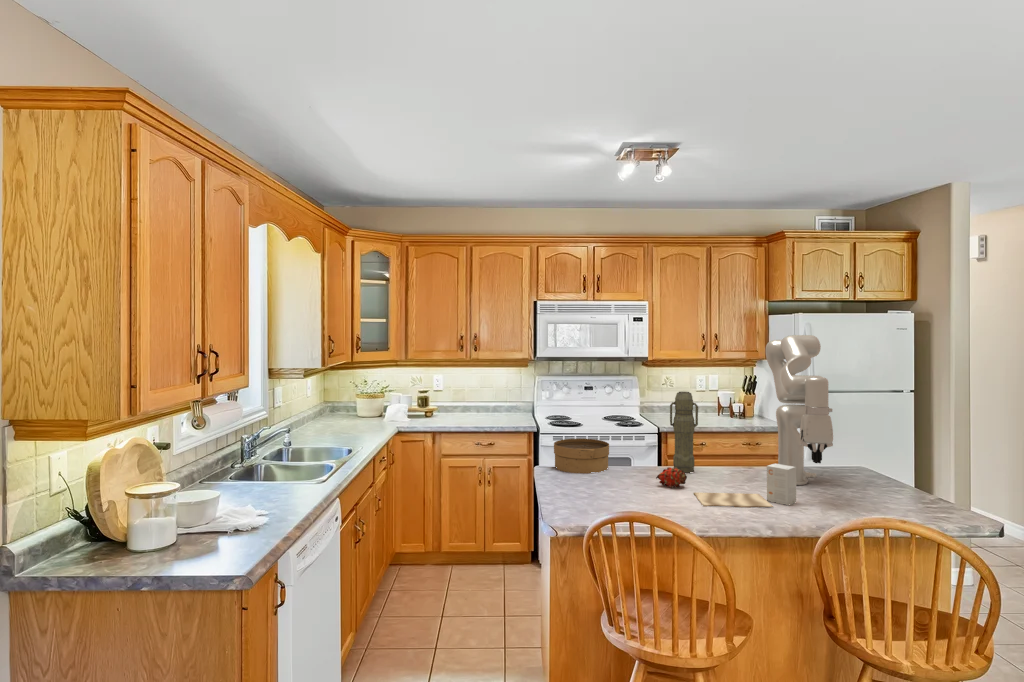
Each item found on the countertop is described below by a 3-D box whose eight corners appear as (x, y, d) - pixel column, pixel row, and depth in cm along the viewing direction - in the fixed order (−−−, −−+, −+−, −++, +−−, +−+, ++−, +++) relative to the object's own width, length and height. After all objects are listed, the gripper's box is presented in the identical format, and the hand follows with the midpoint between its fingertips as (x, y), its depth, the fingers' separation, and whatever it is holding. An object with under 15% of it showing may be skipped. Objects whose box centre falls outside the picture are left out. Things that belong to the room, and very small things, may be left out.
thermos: (699, 473, 260) (699, 393, 259) (671, 473, 261) (671, 393, 261) (695, 469, 269) (696, 391, 268) (668, 468, 270) (669, 390, 269)
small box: (796, 502, 217) (796, 466, 216) (788, 506, 213) (788, 469, 212) (774, 497, 223) (775, 463, 223) (766, 501, 219) (766, 465, 219)
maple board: (758, 495, 226) (758, 493, 226) (773, 507, 210) (773, 506, 210) (693, 494, 228) (693, 492, 228) (703, 506, 213) (703, 504, 213)
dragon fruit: (689, 492, 237) (658, 494, 240) (687, 475, 243) (656, 478, 246) (687, 478, 232) (655, 480, 235) (684, 461, 239) (654, 464, 242)
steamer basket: (605, 475, 258) (604, 449, 258) (548, 472, 265) (548, 446, 265) (612, 463, 282) (612, 439, 282) (560, 461, 289) (560, 437, 289)
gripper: (833, 410, 219) (833, 460, 219) (791, 410, 220) (791, 460, 220) (843, 412, 212) (843, 465, 211) (799, 412, 213) (799, 464, 213)
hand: (816, 462), depth 216 cm, fingers closed
